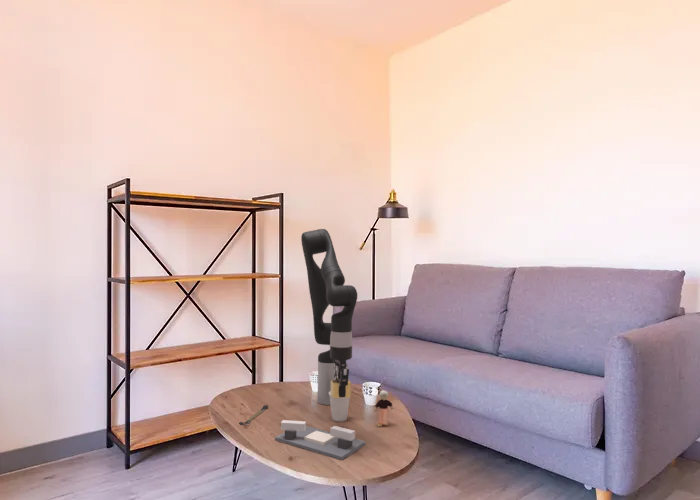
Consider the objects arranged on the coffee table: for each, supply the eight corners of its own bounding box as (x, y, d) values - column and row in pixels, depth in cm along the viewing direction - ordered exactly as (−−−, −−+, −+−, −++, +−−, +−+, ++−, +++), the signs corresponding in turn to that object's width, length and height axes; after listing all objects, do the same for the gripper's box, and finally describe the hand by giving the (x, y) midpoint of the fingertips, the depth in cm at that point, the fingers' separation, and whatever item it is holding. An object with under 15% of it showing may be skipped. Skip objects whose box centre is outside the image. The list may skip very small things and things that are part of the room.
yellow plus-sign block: (347, 393, 162) (347, 377, 162) (350, 397, 158) (351, 381, 158) (330, 394, 161) (330, 378, 161) (333, 398, 156) (333, 382, 156)
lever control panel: (275, 440, 158) (275, 421, 158) (301, 427, 169) (301, 410, 169) (341, 460, 143) (342, 439, 143) (365, 444, 155) (365, 425, 155)
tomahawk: (254, 429, 170) (254, 426, 169) (238, 426, 171) (238, 423, 171) (278, 410, 190) (279, 407, 190) (264, 406, 192) (264, 404, 191)
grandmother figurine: (377, 428, 169) (377, 393, 169) (372, 424, 173) (372, 390, 173) (395, 424, 173) (395, 390, 173) (389, 421, 176) (390, 387, 176)
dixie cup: (325, 416, 181) (326, 390, 181) (346, 414, 184) (346, 388, 184) (331, 423, 173) (332, 396, 173) (353, 421, 176) (353, 394, 176)
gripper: (357, 348, 153) (356, 400, 153) (347, 339, 167) (346, 387, 167) (334, 349, 151) (333, 402, 151) (326, 340, 165) (325, 389, 165)
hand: (340, 394), depth 159 cm, fingers closed on yellow plus-sign block, 4 cm apart
